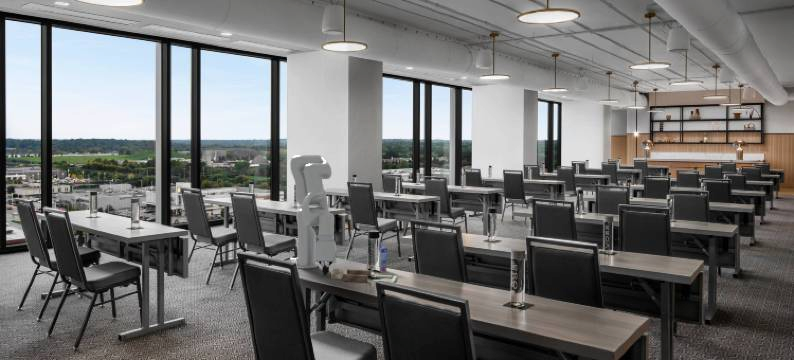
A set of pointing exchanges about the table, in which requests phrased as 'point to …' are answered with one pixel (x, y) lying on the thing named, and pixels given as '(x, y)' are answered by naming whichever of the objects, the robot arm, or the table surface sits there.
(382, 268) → the ink cartridge box
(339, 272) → the birch block
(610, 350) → the table surface
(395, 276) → the frame
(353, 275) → the corridor
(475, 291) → the table surface
